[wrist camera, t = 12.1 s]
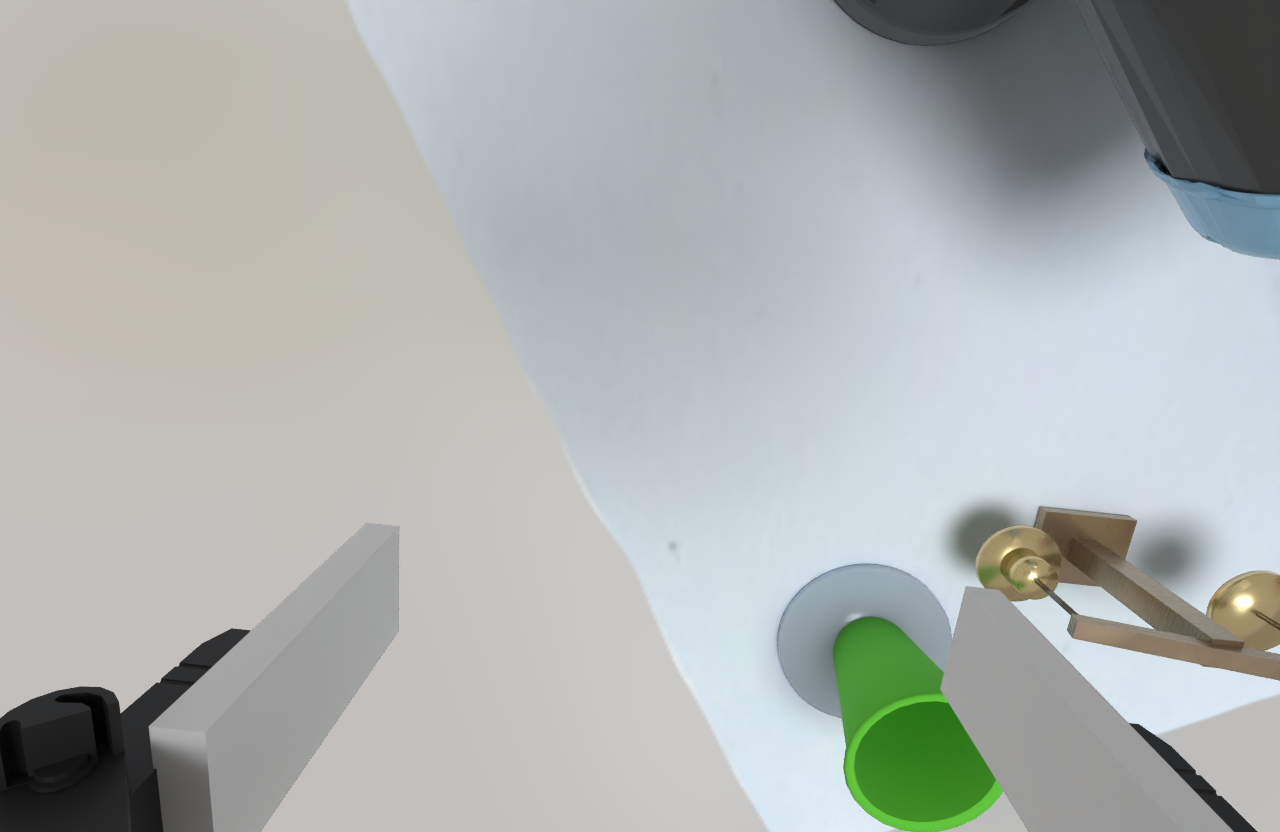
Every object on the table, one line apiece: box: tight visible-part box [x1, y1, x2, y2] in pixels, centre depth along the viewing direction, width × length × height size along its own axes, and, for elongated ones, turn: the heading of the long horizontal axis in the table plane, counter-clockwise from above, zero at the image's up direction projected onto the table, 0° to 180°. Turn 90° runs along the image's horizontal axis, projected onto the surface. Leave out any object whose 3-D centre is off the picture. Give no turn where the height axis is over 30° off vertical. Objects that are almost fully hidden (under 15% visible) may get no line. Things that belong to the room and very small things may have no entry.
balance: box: [975, 507, 1280, 680], centre depth 38 cm, size 17×5×14 cm, turn 84°
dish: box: [778, 564, 952, 718], centre depth 47 cm, size 12×12×1 cm
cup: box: [833, 617, 1003, 832], centre depth 41 cm, size 9×9×11 cm
